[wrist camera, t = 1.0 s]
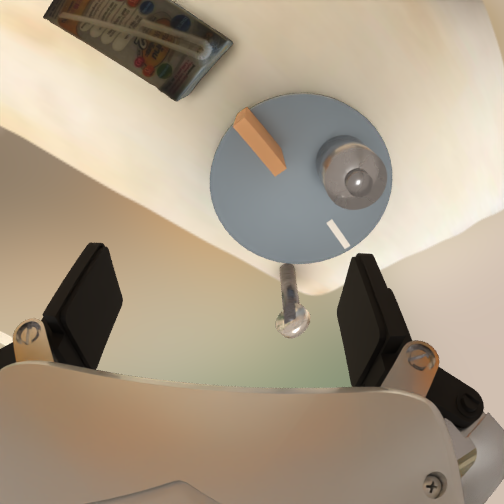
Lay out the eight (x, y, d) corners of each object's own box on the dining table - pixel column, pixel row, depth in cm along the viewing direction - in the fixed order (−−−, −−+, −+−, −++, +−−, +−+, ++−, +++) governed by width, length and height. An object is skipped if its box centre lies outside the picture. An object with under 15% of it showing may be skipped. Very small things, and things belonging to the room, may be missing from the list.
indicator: (295, 257, 42) (304, 321, 32) (303, 266, 43) (314, 330, 33) (270, 272, 43) (274, 336, 34) (279, 280, 44) (284, 345, 35)
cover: (352, 124, 28) (371, 139, 23) (379, 169, 31) (401, 192, 26) (304, 155, 31) (313, 177, 26) (334, 198, 33) (348, 226, 28)
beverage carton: (188, 98, 30) (173, 108, 25) (67, 20, 23) (35, 18, 18) (236, 43, 27) (231, 39, 22) (106, -35, 20) (78, -47, 15)
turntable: (322, 52, 26) (342, 51, 19) (412, 201, 35) (439, 234, 28) (171, 166, 33) (151, 194, 27) (281, 281, 42) (285, 323, 36)
